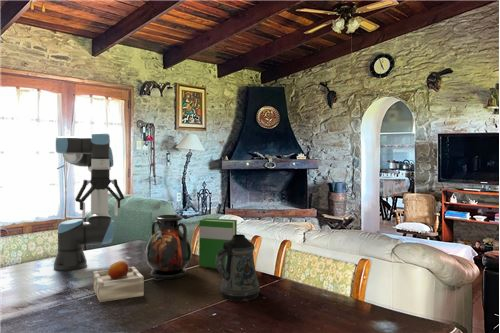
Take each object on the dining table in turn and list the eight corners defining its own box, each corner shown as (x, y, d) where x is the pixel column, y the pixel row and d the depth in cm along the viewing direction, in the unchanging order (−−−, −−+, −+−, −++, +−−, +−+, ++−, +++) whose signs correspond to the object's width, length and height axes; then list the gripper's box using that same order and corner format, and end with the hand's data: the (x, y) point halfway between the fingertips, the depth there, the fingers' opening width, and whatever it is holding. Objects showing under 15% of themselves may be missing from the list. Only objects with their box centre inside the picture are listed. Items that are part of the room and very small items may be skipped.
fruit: (126, 278, 164) (117, 260, 165) (111, 286, 166) (102, 269, 166) (136, 272, 172) (127, 255, 173) (121, 280, 174) (112, 264, 174)
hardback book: (236, 265, 211) (236, 219, 210) (231, 269, 204) (232, 222, 203) (204, 263, 216) (204, 217, 215) (198, 266, 208) (199, 220, 207)
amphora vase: (135, 278, 188) (136, 218, 187) (162, 266, 208) (162, 211, 207) (175, 284, 180) (176, 221, 179) (199, 271, 200) (200, 215, 199)
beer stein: (264, 291, 174) (265, 233, 173) (249, 307, 155) (250, 242, 154) (228, 286, 179) (229, 229, 178) (210, 301, 161) (211, 238, 160)
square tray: (93, 288, 173) (93, 271, 172) (134, 283, 181) (134, 266, 181) (99, 302, 158) (99, 283, 158) (143, 295, 166) (143, 277, 166)
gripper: (70, 169, 169) (70, 220, 170) (131, 168, 181) (130, 215, 183) (68, 168, 175) (68, 216, 177) (127, 167, 188) (127, 213, 189)
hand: (100, 216), depth 180 cm, fingers open, 13 cm apart
